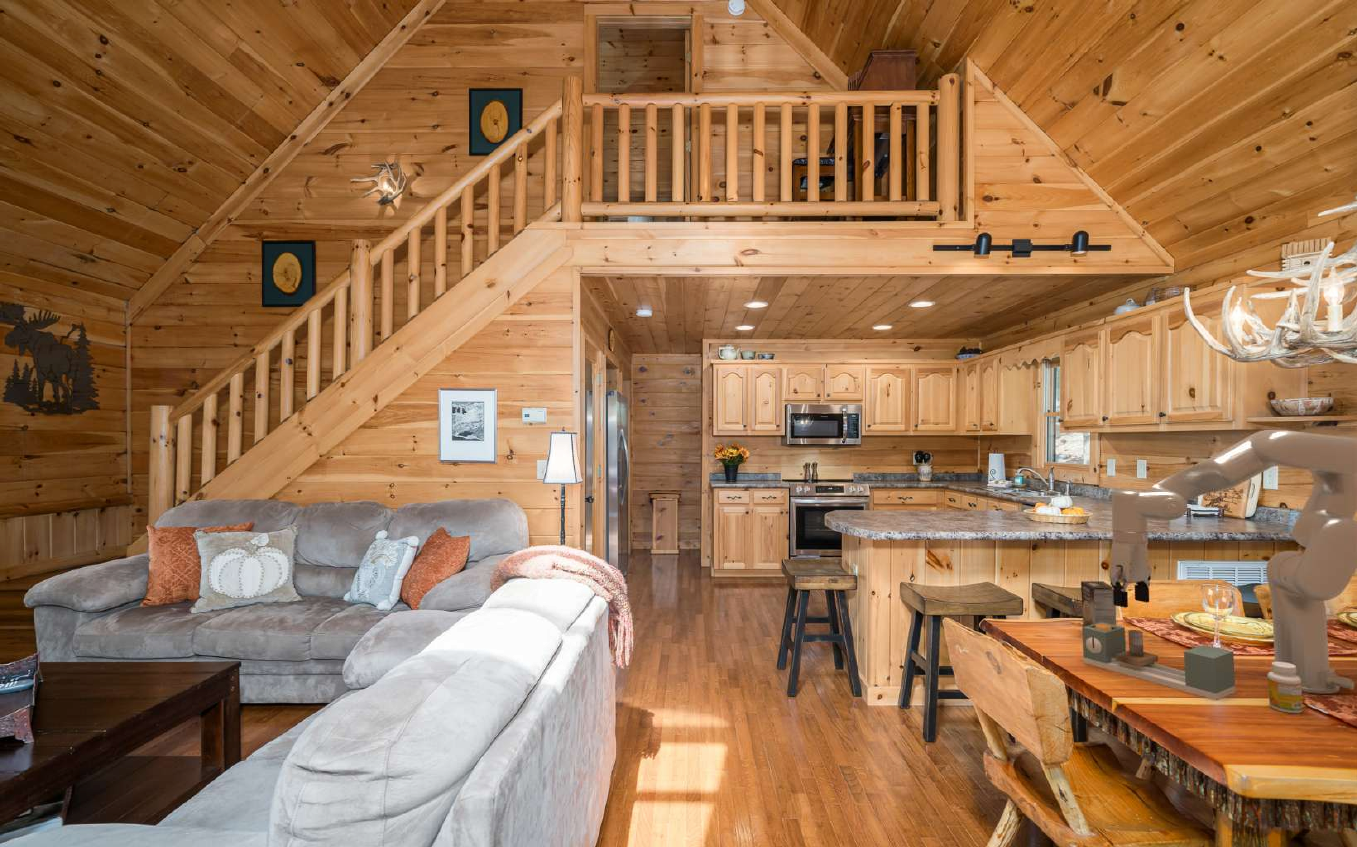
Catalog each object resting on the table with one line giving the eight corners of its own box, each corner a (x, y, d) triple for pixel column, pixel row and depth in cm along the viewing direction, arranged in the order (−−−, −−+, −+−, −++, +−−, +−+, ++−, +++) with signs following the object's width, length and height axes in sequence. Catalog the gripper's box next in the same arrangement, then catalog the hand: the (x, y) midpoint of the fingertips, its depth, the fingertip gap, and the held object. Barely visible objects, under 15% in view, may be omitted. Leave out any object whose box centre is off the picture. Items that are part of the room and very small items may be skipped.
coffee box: (1082, 632, 203) (1079, 580, 203) (1105, 633, 201) (1102, 580, 202) (1094, 642, 194) (1092, 587, 194) (1118, 642, 192) (1116, 587, 193)
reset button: (1114, 637, 176) (1114, 625, 176) (1106, 640, 174) (1106, 628, 174) (1100, 634, 179) (1100, 622, 179) (1093, 636, 177) (1092, 624, 177)
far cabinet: (1126, 657, 176) (1124, 627, 176) (1105, 663, 172) (1104, 633, 172) (1103, 651, 181) (1101, 622, 181) (1082, 657, 177) (1080, 627, 177)
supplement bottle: (1268, 701, 149) (1266, 658, 149) (1301, 707, 145) (1299, 663, 145) (1270, 710, 144) (1267, 665, 145) (1304, 715, 141) (1301, 670, 141)
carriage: (1158, 661, 169) (1156, 631, 169) (1140, 667, 165) (1139, 637, 165) (1133, 654, 174) (1131, 626, 174) (1115, 660, 170) (1114, 631, 170)
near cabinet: (1235, 685, 155) (1233, 651, 155) (1215, 693, 151) (1213, 658, 151) (1201, 676, 161) (1199, 643, 161) (1181, 684, 157) (1180, 650, 157)
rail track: (1235, 691, 155) (1234, 681, 155) (1216, 700, 150) (1215, 689, 151) (1103, 656, 181) (1102, 647, 181) (1083, 662, 177) (1083, 653, 177)
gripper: (1133, 532, 178) (1134, 596, 177) (1095, 538, 170) (1096, 605, 169) (1164, 536, 171) (1165, 602, 171) (1126, 542, 163) (1128, 611, 163)
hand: (1131, 603), depth 170 cm, fingers open, 9 cm apart
